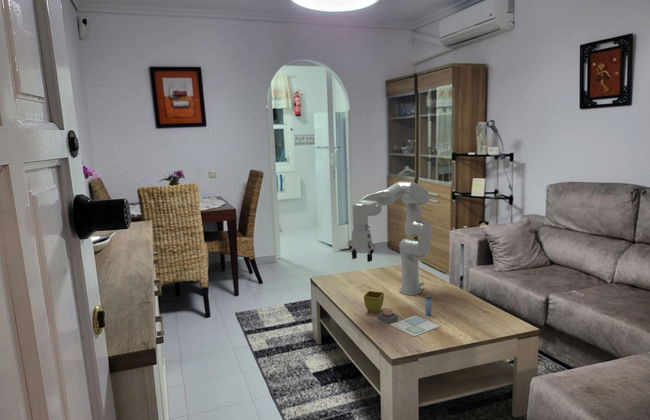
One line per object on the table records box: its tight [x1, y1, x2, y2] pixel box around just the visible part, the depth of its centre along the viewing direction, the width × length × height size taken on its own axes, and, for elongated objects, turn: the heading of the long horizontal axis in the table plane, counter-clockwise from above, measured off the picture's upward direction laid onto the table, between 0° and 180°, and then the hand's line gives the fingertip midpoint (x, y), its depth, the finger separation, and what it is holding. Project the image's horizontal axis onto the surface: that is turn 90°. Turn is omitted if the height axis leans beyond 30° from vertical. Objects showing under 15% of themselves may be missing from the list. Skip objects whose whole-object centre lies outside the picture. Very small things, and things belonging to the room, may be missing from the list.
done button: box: [383, 307, 394, 317], centre depth 218 cm, size 4×4×3 cm
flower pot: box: [363, 290, 385, 313], centre depth 230 cm, size 9×9×9 cm
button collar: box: [377, 312, 399, 324], centre depth 218 cm, size 7×7×2 cm
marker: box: [424, 294, 432, 317], centre depth 221 cm, size 3×3×10 cm
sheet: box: [389, 315, 441, 338], centre depth 209 cm, size 17×16×1 cm
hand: (362, 259), depth 225 cm, fingers open, 9 cm apart
